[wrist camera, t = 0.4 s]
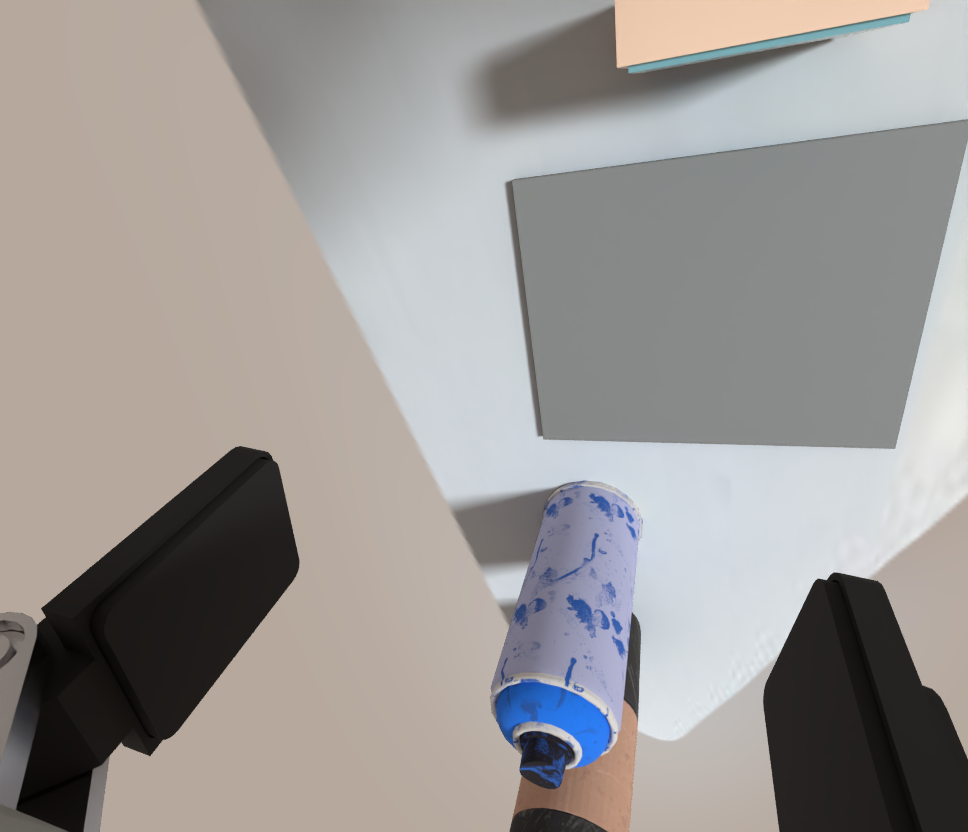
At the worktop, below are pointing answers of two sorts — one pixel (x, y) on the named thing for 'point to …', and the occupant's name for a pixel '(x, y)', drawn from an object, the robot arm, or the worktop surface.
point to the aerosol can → (570, 634)
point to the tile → (739, 27)
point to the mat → (738, 289)
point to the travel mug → (591, 776)
